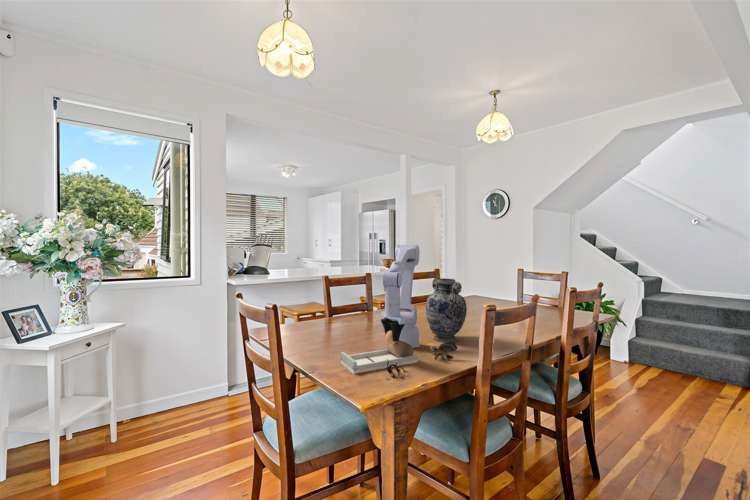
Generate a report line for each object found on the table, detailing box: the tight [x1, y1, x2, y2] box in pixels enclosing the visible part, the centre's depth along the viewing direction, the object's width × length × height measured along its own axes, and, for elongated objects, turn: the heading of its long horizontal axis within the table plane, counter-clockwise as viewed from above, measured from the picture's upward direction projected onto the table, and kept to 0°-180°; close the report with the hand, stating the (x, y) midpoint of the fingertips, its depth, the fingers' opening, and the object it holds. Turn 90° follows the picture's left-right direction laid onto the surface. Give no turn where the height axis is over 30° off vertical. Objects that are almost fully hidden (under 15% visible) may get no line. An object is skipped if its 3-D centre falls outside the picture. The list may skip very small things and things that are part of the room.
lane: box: [340, 348, 418, 375], centre depth 132 cm, size 26×12×4 cm, turn 117°
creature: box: [386, 360, 409, 380], centre depth 120 cm, size 8×5×8 cm
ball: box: [385, 330, 397, 344], centre depth 135 cm, size 5×5×5 cm
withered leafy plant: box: [430, 342, 459, 361], centre depth 137 cm, size 8×7×9 cm
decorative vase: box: [425, 278, 468, 343], centre depth 164 cm, size 21×19×28 cm
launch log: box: [386, 340, 415, 358], centre depth 136 cm, size 6×10×6 cm, turn 27°
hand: (392, 339), depth 135 cm, fingers closed on ball, 5 cm apart
